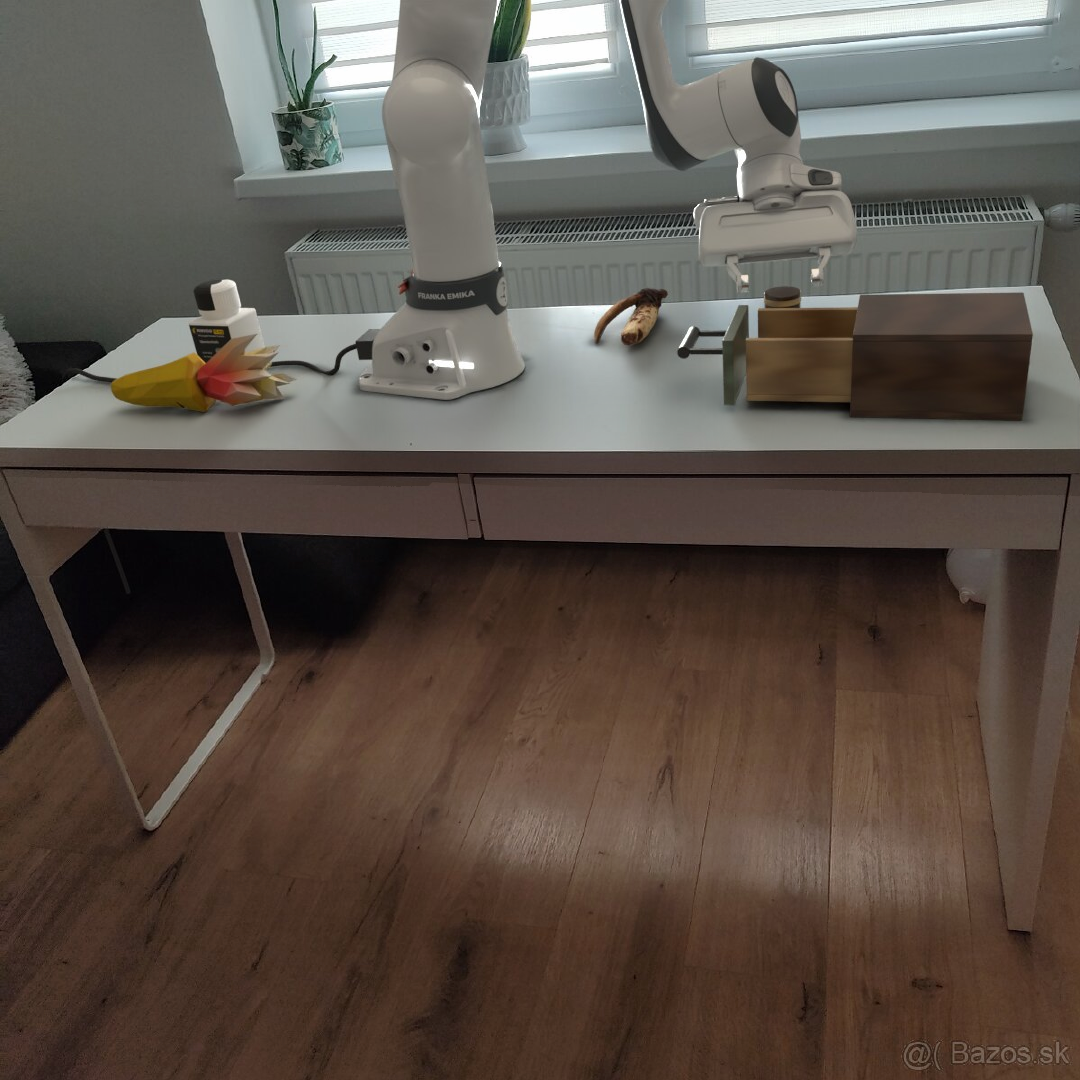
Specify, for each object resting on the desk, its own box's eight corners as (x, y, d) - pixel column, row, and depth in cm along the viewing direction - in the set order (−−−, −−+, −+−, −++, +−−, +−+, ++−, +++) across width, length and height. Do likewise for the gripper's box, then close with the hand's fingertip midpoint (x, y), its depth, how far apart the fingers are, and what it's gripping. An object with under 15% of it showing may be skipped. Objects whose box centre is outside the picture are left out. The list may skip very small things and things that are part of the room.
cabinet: (849, 417, 118) (852, 334, 113) (856, 371, 129) (859, 294, 125) (1022, 420, 113) (1033, 334, 108) (1014, 372, 124) (1023, 292, 119)
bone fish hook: (611, 315, 160) (584, 355, 145) (608, 284, 157) (580, 322, 142) (673, 311, 157) (651, 352, 142) (670, 280, 155) (648, 318, 140)
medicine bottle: (200, 368, 158) (177, 289, 152) (229, 351, 163) (208, 274, 157) (239, 370, 155) (217, 290, 149) (267, 353, 161) (248, 275, 155)
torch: (136, 432, 148) (301, 399, 143) (102, 428, 140) (275, 393, 135) (127, 373, 148) (291, 338, 143) (92, 366, 140) (265, 329, 135)
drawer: (674, 404, 124) (671, 340, 121) (693, 365, 135) (691, 305, 131) (873, 407, 117) (876, 340, 114) (878, 366, 128) (881, 303, 124)
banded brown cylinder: (762, 356, 137) (761, 297, 133) (766, 344, 141) (766, 286, 137) (798, 356, 136) (799, 297, 132) (802, 344, 139) (803, 285, 135)
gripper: (692, 187, 139) (699, 282, 135) (853, 171, 136) (864, 268, 133) (692, 213, 145) (698, 305, 141) (846, 199, 142) (856, 292, 139)
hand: (780, 287), depth 137 cm, fingers open, 8 cm apart
